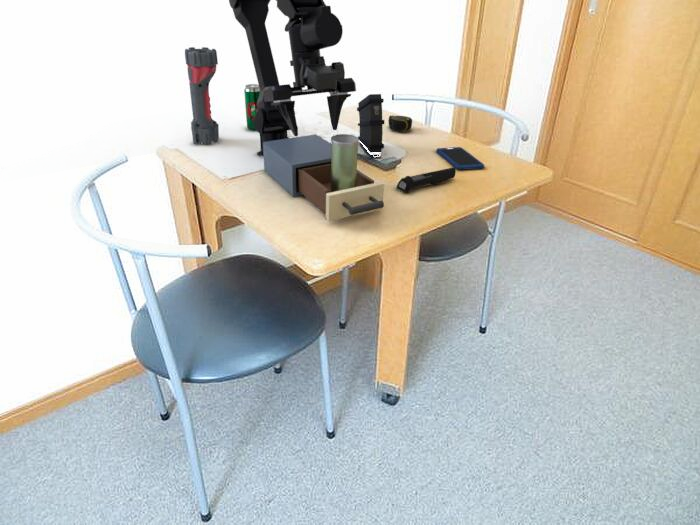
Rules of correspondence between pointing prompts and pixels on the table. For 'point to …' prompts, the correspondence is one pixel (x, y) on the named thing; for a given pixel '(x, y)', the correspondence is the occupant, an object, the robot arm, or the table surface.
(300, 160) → the cabinet
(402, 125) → the tape measure
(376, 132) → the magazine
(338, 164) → the tea tin
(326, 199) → the drawer
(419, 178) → the electric trimmer
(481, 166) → the cell phone
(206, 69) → the flashlight
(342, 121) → the table surface
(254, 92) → the soda can
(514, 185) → the table surface
